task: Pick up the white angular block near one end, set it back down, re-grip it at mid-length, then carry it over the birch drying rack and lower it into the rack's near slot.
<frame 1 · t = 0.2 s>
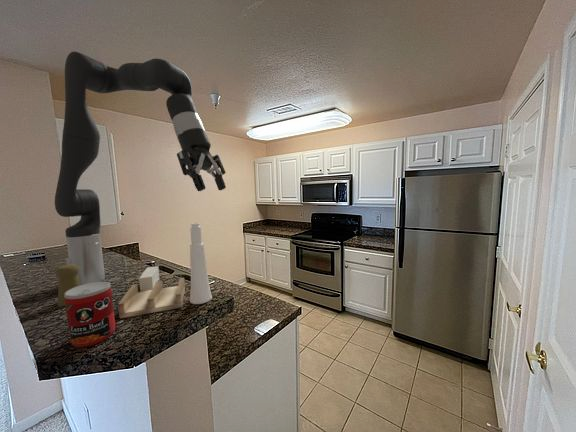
hand: (212, 189, 66), 31 cm above the countertop, tool tilted 20°, fingers open, 8 cm apart
cork: (71, 302, 72), on the countertop
white angular block: (150, 286, 83), on the countertop
canned food: (94, 337, 53), on the countertop
cosmetic bottle: (201, 300, 70), on the countertop
rack: (156, 301, 70), on the countertop
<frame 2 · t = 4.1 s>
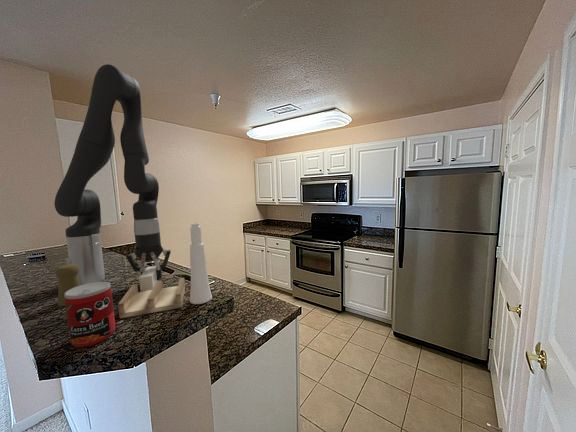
hand: (152, 280, 85), 1 cm above the countertop, tool pointing down, fingers closed on white angular block, 3 cm apart
white angular block: (150, 285, 83), on the countertop, touching gripper
everything else where it was.
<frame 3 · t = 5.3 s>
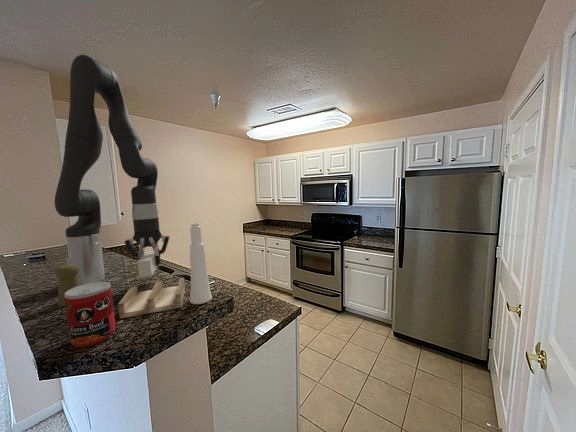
hand: (150, 266, 85), 6 cm above the countertop, tool pointing down, fingers closed on white angular block, 3 cm apart
white angular block: (149, 270, 82), point 5 cm above the countertop, touching gripper
everything else where it was.
when the fingers open (1 cm above the countertop, at t = 6.4 s): white angular block stays where it is, on the countertop.
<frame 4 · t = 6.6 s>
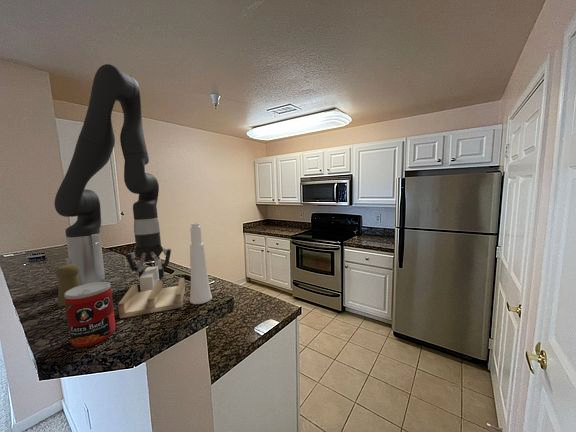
hand: (152, 279, 85), 1 cm above the countertop, tool pointing down, fingers open, 4 cm apart
white angular block: (150, 286, 83), on the countertop
everything else where it was.
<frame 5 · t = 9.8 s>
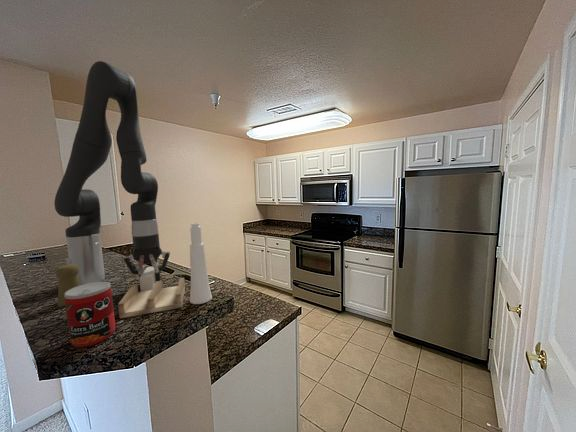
hand: (150, 283, 82), 1 cm above the countertop, tool pointing down, fingers closed on white angular block, 3 cm apart
white angular block: (150, 285, 83), on the countertop, touching gripper
everything else where it was.
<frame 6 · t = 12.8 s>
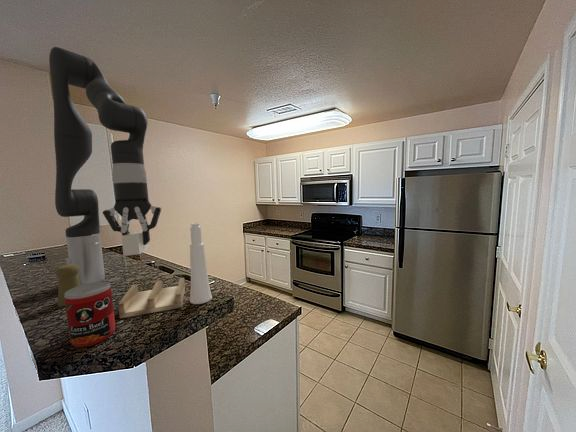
hand: (137, 244, 67), 17 cm above the countertop, tool pointing down, fingers closed on white angular block, 3 cm apart
white angular block: (137, 251, 67), point 15 cm above the countertop, touching gripper
everything else where it was.
when the fingers open (4 cm above the countertop, at t = 15.8 s): white angular block drops 1 cm, resting on rack.
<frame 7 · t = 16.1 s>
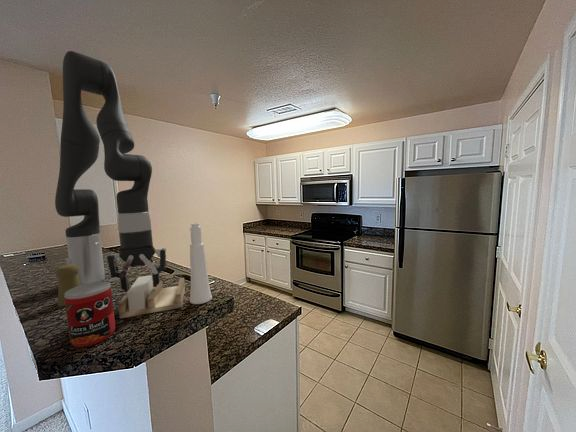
hand: (141, 288, 68), 5 cm above the countertop, tool pointing down, fingers open, 6 cm apart
white angular block: (142, 300, 68), point 1 cm above the countertop, touching rack
everything else where it was.
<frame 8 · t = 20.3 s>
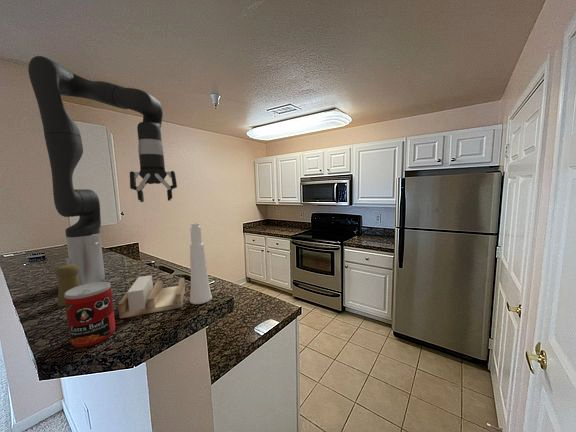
hand: (155, 201, 86), 28 cm above the countertop, tool pointing down, fingers open, 8 cm apart
nothing on the countertop moved.
at the end: white angular block inside the target area on the rack (0.5 cm from its centre), point 1.2 cm above the rack's base; white angular block tilted 0°; the gripper is holding nothing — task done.
